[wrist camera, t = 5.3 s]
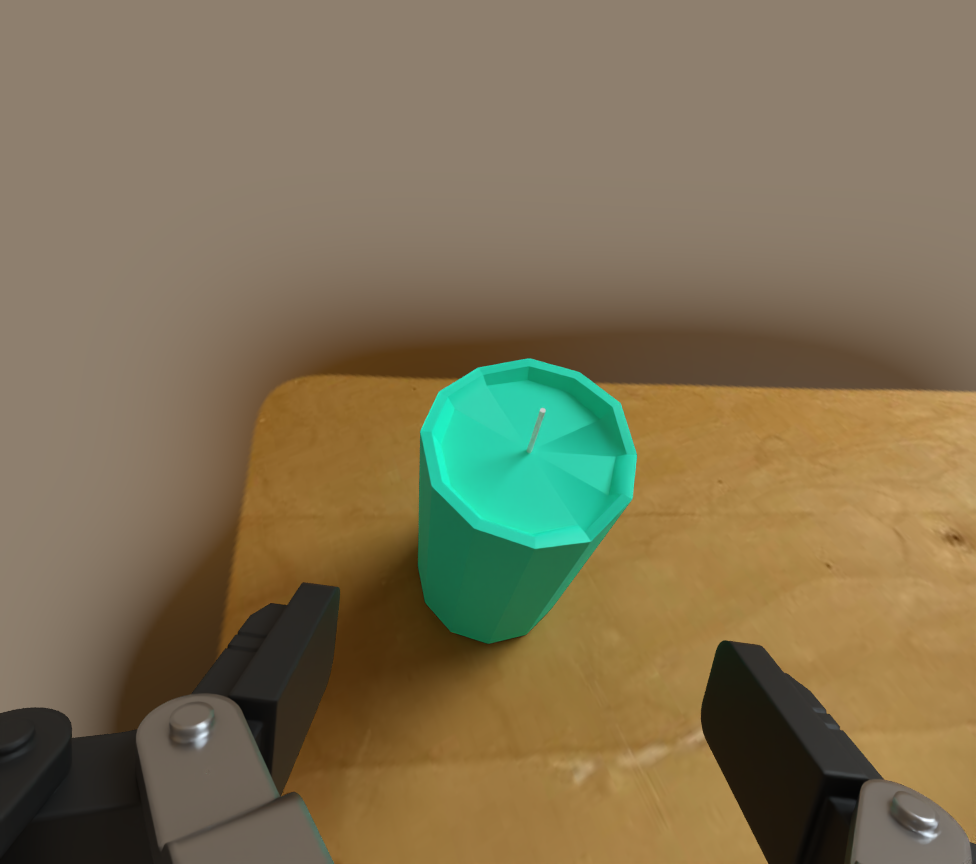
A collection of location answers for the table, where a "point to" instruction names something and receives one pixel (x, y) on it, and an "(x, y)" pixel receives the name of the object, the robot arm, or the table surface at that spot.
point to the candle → (516, 493)
